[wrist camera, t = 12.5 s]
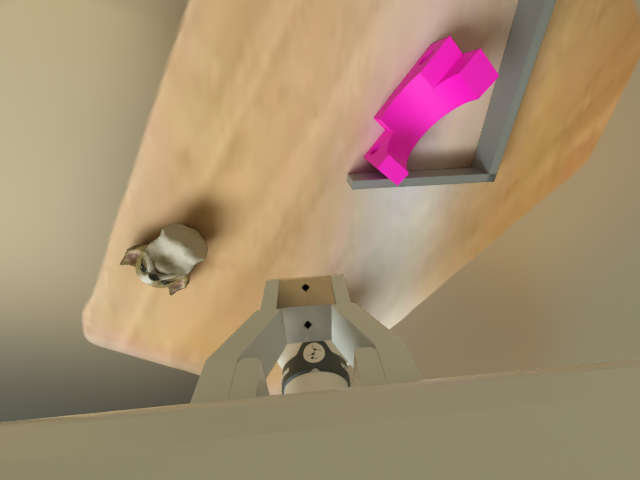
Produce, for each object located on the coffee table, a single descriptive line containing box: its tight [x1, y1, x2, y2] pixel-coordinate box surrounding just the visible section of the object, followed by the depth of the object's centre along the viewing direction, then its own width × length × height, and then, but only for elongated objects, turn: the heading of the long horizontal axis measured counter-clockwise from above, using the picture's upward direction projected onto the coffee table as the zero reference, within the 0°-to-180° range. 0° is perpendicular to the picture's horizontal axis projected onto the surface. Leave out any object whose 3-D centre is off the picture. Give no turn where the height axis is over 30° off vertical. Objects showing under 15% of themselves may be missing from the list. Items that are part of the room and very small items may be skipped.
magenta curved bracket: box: [364, 36, 499, 186], centre depth 30 cm, size 15×6×8 cm, turn 142°
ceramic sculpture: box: [120, 224, 208, 295], centre depth 37 cm, size 11×9×15 cm
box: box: [347, 0, 556, 189], centre depth 29 cm, size 26×21×4 cm
